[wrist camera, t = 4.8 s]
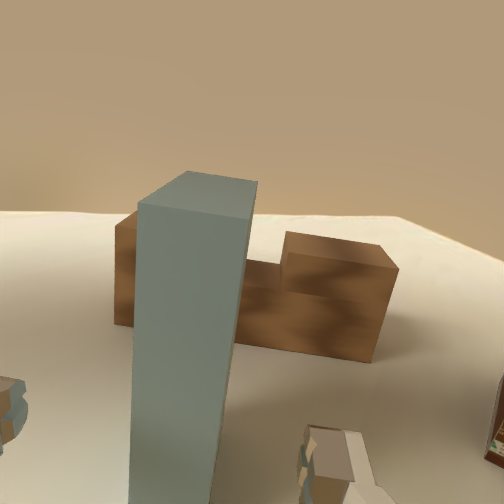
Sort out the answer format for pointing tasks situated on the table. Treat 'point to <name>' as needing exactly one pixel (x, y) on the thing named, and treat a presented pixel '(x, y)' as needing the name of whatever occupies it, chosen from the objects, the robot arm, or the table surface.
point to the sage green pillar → (185, 331)
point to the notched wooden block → (294, 294)
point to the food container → (497, 430)
